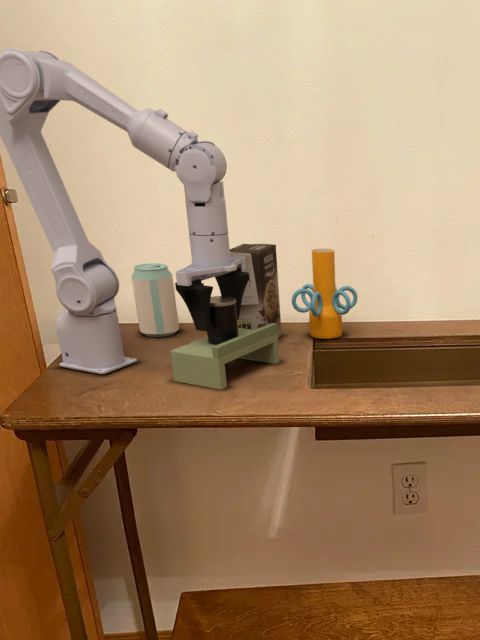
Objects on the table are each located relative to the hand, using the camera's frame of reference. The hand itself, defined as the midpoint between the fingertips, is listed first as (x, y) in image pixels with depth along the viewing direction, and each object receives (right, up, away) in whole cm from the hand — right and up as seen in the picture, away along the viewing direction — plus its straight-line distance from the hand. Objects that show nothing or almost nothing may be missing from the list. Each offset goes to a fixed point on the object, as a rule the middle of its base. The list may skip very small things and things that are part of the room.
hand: (217, 324), depth 125 cm
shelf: (+1, -7, +3) cm, 7 cm away
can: (-16, +4, +23) cm, 28 cm away
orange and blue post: (+15, +4, +23) cm, 27 cm away
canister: (+1, -2, +1) cm, 3 cm away
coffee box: (+3, +2, +19) cm, 19 cm away
